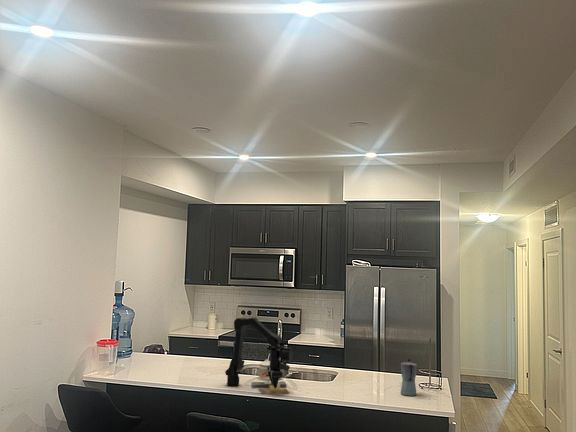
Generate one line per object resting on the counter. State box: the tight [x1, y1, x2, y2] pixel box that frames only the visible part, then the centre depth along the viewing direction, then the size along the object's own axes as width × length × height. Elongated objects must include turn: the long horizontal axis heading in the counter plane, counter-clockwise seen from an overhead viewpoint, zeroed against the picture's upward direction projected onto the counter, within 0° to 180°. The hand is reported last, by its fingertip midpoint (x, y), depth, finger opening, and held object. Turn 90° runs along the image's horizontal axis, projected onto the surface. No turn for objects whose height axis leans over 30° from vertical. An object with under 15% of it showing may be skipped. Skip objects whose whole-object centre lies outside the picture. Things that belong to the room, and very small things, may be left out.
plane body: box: [250, 378, 287, 389], centre depth 318 cm, size 20×7×5 cm, turn 101°
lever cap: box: [267, 383, 280, 392], centre depth 306 cm, size 6×5×4 cm
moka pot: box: [400, 358, 418, 397], centre depth 310 cm, size 10×15×20 cm, turn 2°
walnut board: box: [258, 387, 290, 395], centre depth 306 cm, size 16×10×1 cm, turn 101°
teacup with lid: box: [258, 359, 270, 381], centre depth 339 cm, size 12×9×12 cm
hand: (274, 386), depth 306 cm, fingers open, 9 cm apart
